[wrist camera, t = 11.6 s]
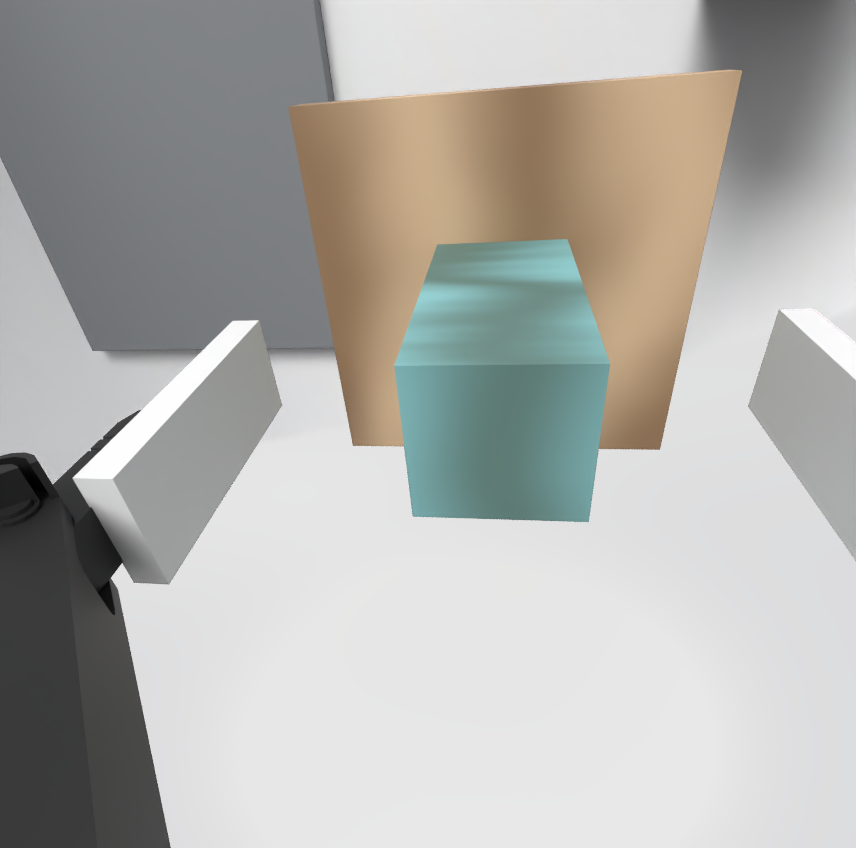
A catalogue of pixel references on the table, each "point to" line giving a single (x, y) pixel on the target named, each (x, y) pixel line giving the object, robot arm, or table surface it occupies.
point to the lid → (513, 275)
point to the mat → (168, 163)
